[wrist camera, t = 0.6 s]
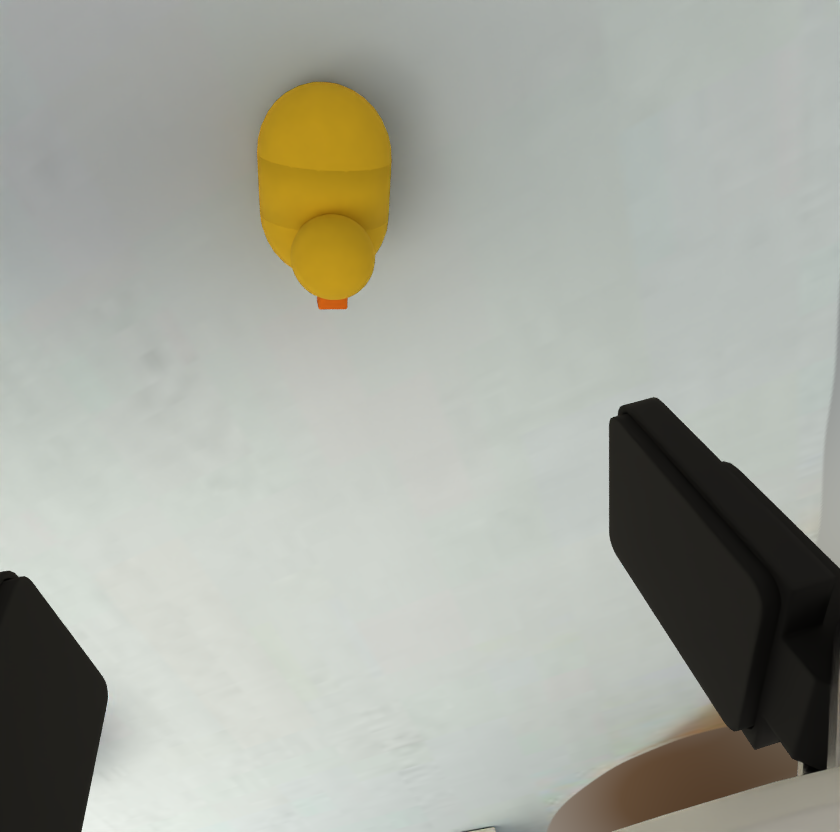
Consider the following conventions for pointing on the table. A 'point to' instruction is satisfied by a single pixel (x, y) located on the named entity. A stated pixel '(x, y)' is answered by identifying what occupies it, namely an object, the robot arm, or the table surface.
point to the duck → (325, 187)
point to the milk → (485, 830)
